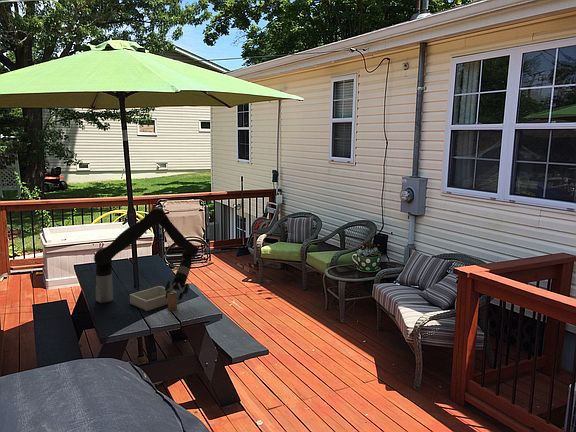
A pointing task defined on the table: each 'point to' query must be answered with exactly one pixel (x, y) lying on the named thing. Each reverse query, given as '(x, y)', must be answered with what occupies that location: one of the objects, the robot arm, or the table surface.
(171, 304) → the jar
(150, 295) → the bin
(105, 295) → the robot arm
